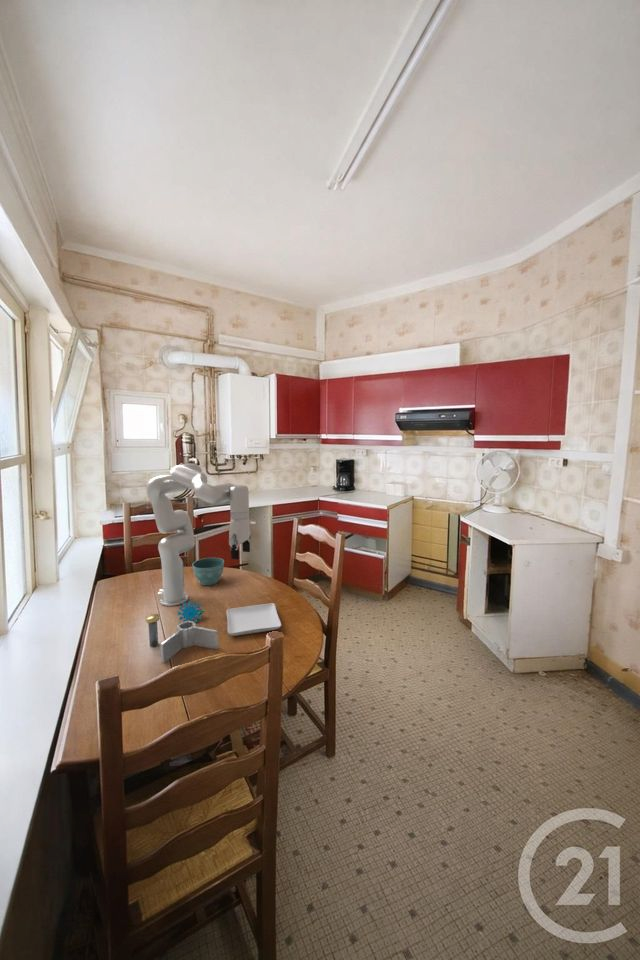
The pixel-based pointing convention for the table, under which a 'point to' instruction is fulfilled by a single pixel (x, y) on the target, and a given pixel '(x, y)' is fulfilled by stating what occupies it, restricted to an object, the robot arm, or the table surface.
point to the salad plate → (252, 619)
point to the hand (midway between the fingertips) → (240, 555)
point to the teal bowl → (208, 570)
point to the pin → (152, 629)
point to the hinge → (188, 639)
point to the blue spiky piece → (190, 612)
